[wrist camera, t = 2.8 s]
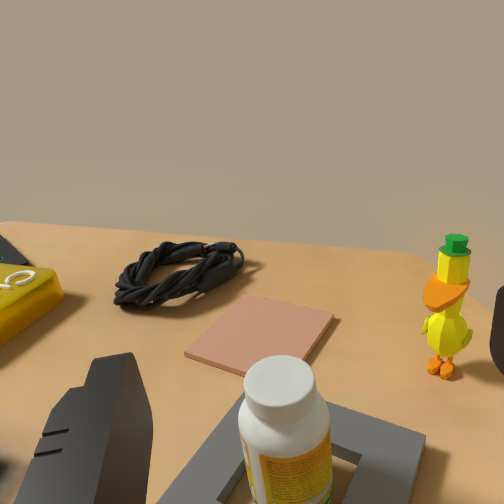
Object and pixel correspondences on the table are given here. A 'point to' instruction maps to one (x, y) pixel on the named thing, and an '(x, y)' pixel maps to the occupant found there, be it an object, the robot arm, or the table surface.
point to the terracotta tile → (259, 334)
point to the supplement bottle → (285, 433)
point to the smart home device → (10, 254)
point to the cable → (177, 273)
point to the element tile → (25, 297)
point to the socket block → (342, 445)
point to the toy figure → (447, 305)
